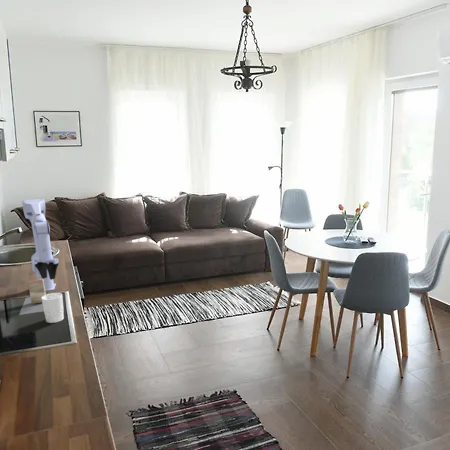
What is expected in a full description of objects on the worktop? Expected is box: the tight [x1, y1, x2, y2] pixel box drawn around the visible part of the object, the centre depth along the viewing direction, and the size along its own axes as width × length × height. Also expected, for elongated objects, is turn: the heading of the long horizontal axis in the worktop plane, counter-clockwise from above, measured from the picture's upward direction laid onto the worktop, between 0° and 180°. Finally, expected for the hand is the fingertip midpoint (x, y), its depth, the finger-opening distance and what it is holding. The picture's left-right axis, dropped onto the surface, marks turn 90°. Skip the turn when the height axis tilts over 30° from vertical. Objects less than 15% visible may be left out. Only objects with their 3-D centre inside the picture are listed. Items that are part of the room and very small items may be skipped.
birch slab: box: [27, 278, 47, 304], centre depth 206 cm, size 3×6×10 cm, turn 104°
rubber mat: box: [18, 296, 44, 316], centre depth 205 cm, size 22×14×1 cm, turn 16°
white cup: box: [41, 292, 65, 324], centre depth 185 cm, size 8×8×10 cm
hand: (48, 278), depth 206 cm, fingers open, 5 cm apart
